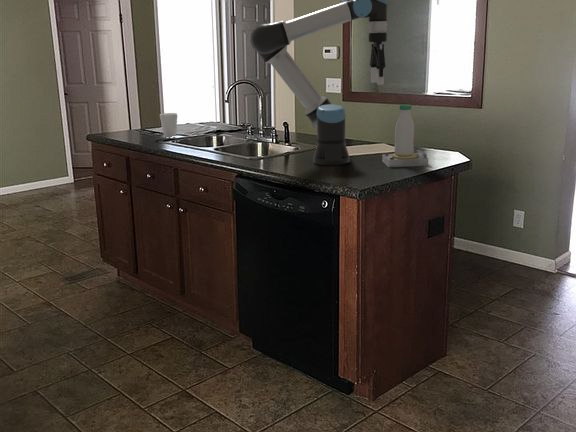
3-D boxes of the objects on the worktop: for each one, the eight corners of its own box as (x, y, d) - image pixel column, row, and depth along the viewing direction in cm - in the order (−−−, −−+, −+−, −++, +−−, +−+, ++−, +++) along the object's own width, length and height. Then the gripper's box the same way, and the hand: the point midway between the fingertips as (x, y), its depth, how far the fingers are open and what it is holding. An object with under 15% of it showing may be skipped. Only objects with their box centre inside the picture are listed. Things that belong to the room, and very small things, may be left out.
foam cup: (159, 139, 332) (157, 115, 328) (165, 136, 341) (163, 113, 337) (175, 138, 330) (173, 114, 327) (181, 136, 339) (179, 112, 336)
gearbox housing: (388, 167, 242) (388, 156, 241) (382, 161, 254) (382, 150, 252) (428, 165, 243) (428, 154, 242) (419, 159, 255) (420, 149, 253)
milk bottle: (412, 156, 243) (414, 106, 237) (393, 156, 245) (394, 106, 239) (414, 153, 250) (416, 104, 245) (395, 152, 252) (396, 104, 247)
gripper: (393, 31, 244) (392, 85, 250) (380, 32, 268) (379, 81, 274) (374, 32, 243) (374, 86, 249) (363, 32, 267) (363, 82, 273)
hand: (377, 83), depth 261 cm, fingers open, 13 cm apart
